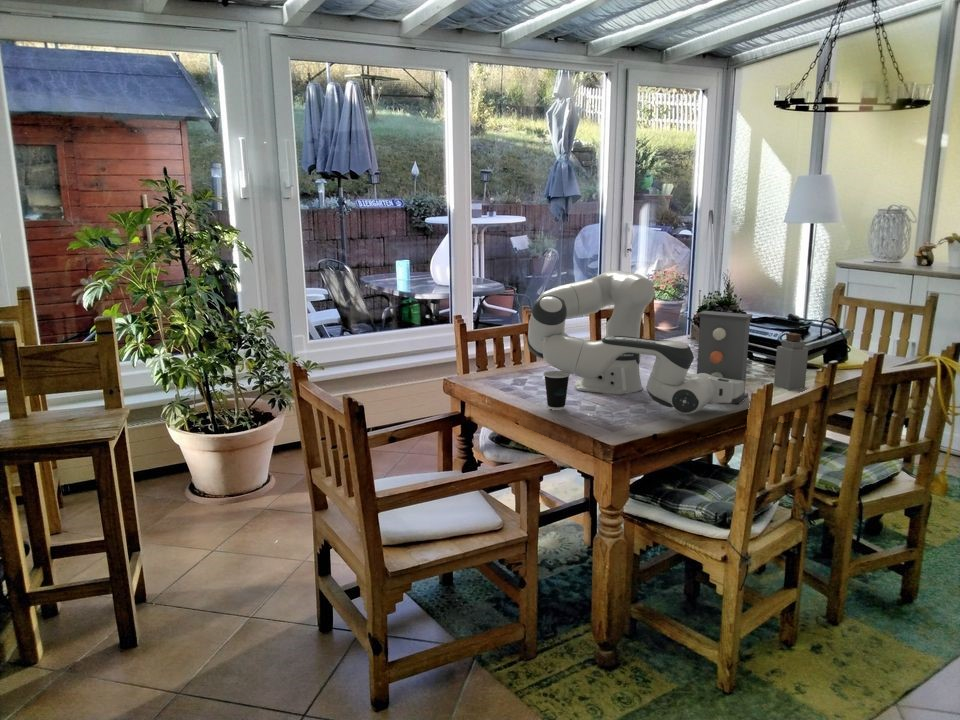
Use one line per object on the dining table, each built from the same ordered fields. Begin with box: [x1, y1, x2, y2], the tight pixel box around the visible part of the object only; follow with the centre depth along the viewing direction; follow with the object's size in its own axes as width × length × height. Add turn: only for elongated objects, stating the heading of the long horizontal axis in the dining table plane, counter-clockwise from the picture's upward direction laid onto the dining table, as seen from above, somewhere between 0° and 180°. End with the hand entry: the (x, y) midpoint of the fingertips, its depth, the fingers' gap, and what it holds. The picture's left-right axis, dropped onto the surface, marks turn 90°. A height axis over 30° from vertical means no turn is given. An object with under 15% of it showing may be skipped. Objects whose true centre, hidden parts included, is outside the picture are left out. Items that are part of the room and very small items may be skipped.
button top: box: [713, 328, 726, 340], centre depth 226 cm, size 4×3×4 cm
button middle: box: [710, 351, 723, 363], centre depth 227 cm, size 4×3×4 cm
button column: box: [696, 310, 753, 404], centre depth 231 cm, size 15×10×27 cm, turn 56°
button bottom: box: [711, 372, 723, 378], centre depth 229 cm, size 4×3×4 cm
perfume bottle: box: [773, 332, 809, 391], centre depth 244 cm, size 7×7×18 cm
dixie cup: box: [543, 370, 571, 411], centre depth 224 cm, size 8×8×11 cm
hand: (716, 378), depth 228 cm, fingers closed, pressing on button bottom
